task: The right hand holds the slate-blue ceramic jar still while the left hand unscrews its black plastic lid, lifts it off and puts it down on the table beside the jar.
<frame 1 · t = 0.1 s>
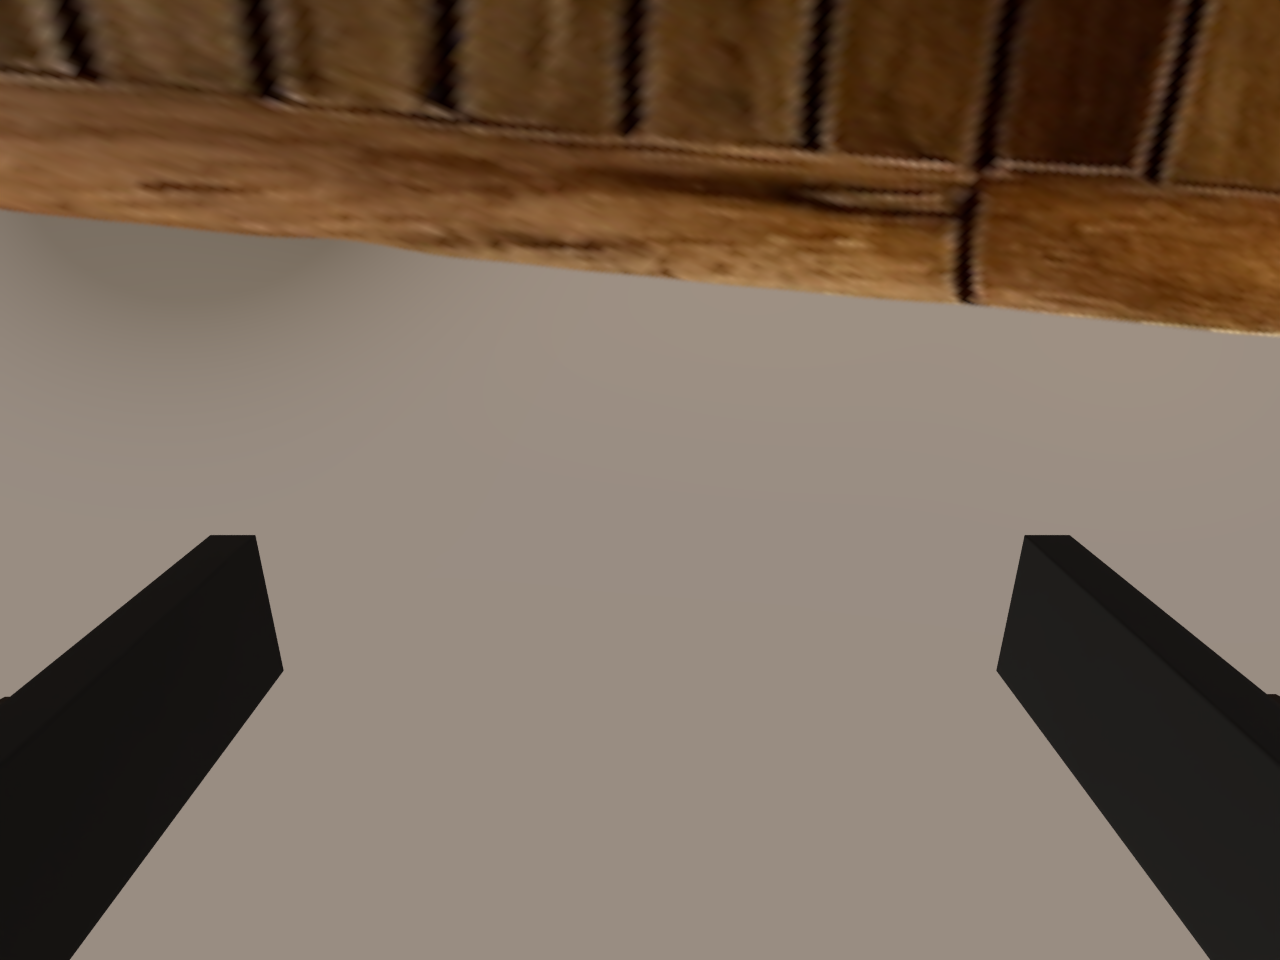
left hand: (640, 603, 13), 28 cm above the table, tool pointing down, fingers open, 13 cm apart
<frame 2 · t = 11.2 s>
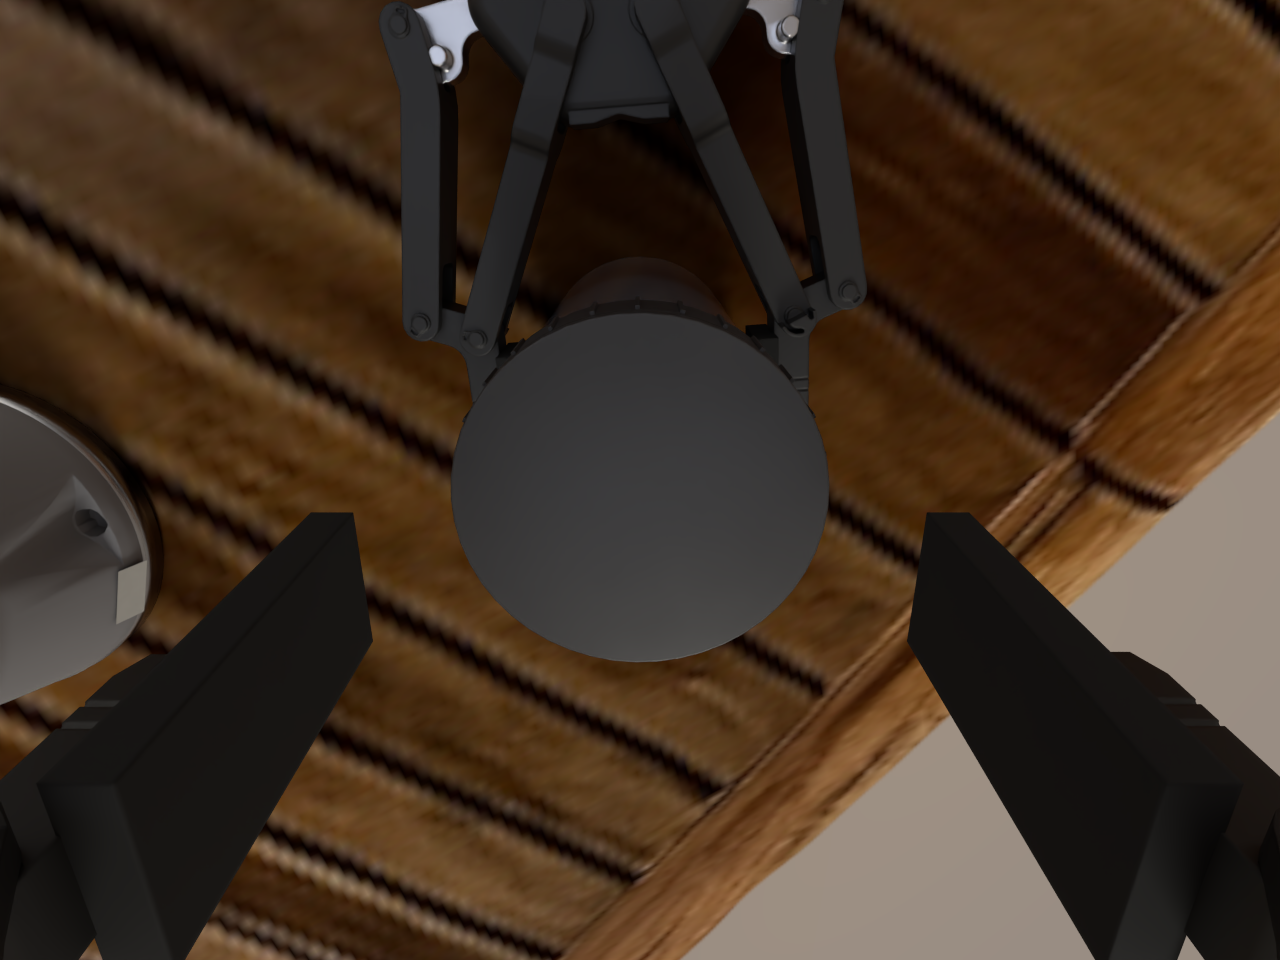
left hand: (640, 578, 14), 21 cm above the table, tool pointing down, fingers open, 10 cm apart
right hand: (649, 508, 29), fingers closed on jar, 8 cm apart
lid: (639, 497, 17), point 17 cm above the table, screwed on, not yet turned
jar: (639, 350, 33), on the table, touching right hand
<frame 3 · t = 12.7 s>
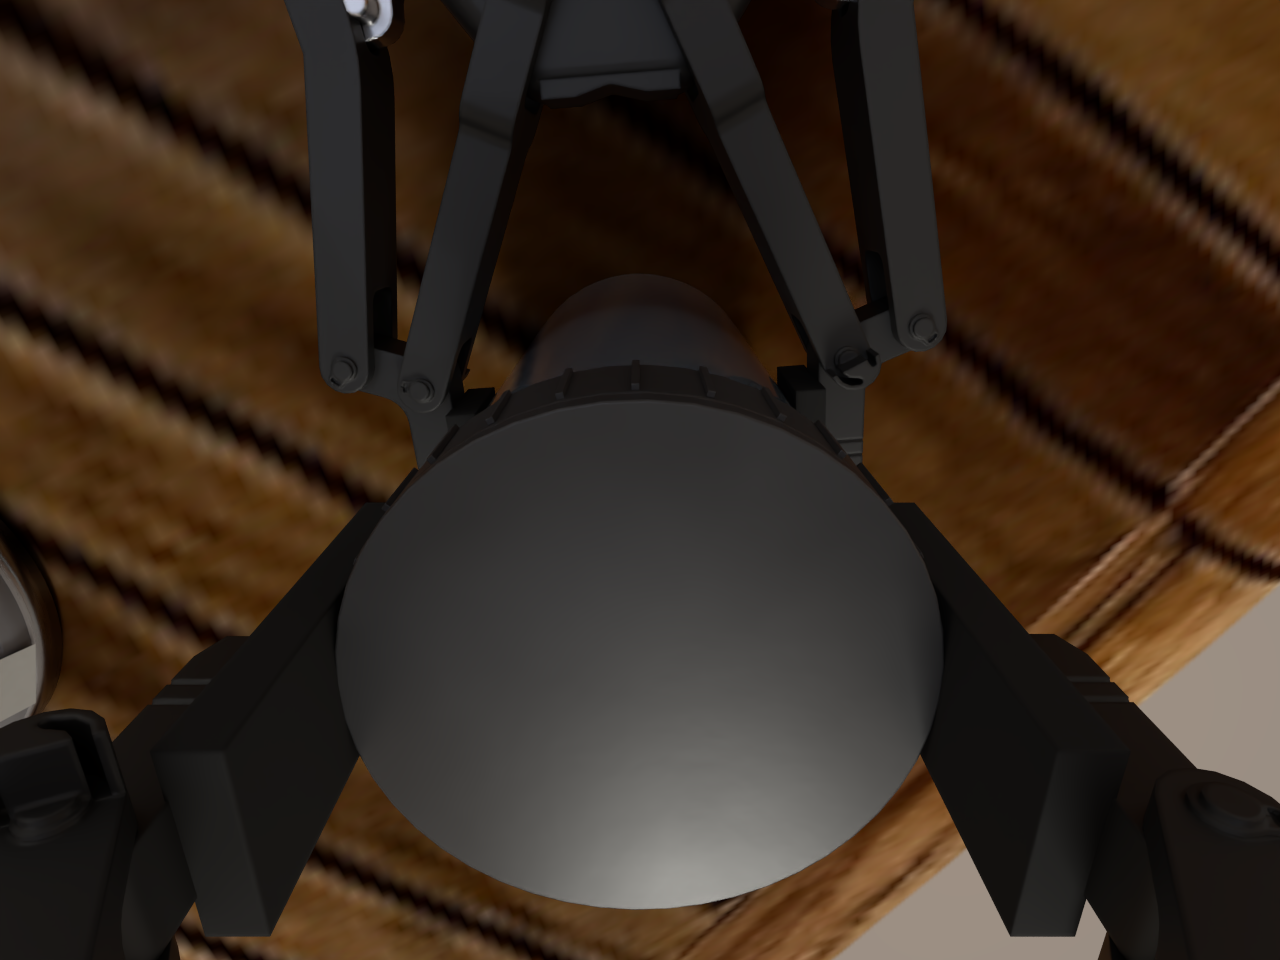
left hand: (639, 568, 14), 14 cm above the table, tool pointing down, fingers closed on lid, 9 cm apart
lid: (639, 678, 11), point 17 cm above the table, screwed on, not yet turned, touching left hand
jar: (639, 389, 27), on the table, touching right hand
when the left hand's fingers open (14 cm above the table, at t = 14.0 s): lid stays where it is, point 17 cm above the table.
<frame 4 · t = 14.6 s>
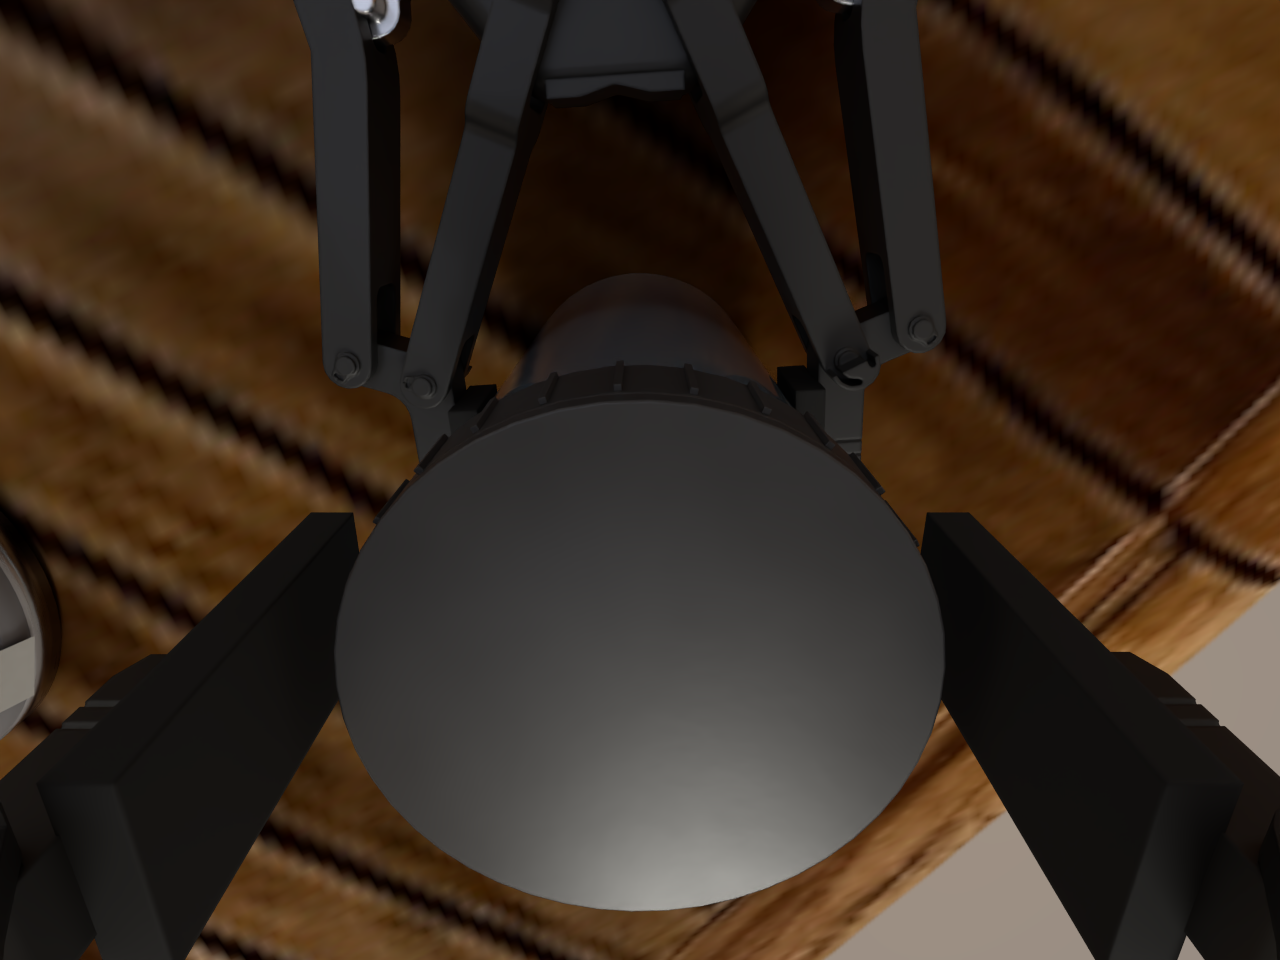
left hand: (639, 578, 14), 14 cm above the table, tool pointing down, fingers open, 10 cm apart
lid: (639, 679, 11), point 17 cm above the table, turned 68° so far, risen 0.2 cm, still on its thread
jar: (639, 388, 27), on the table, touching right hand
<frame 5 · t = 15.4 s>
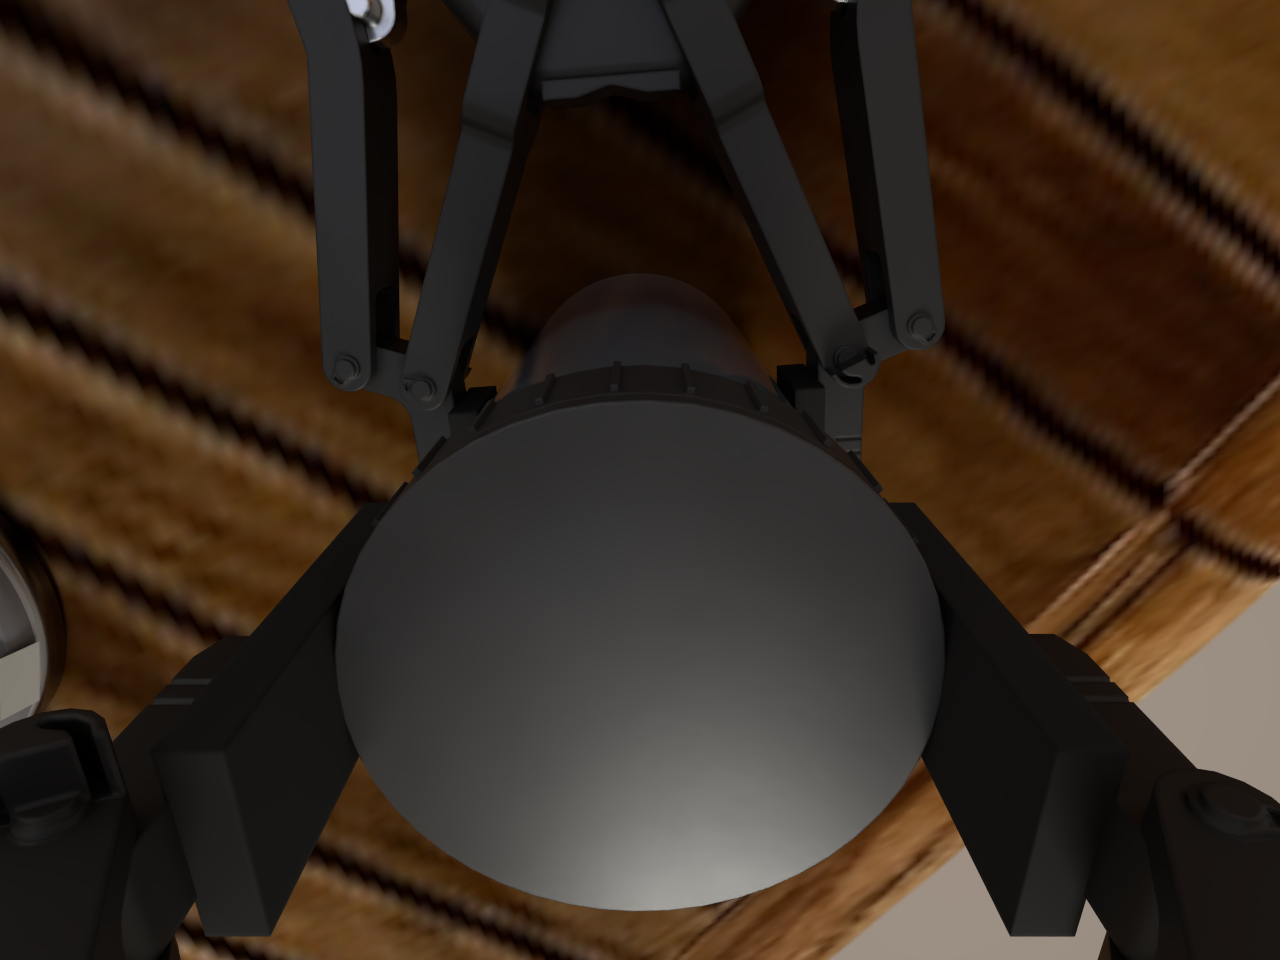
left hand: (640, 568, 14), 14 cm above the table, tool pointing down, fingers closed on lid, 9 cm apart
lid: (640, 679, 11), point 17 cm above the table, turned 68° so far, risen 0.2 cm, still on its thread, touching left hand
jar: (640, 388, 27), on the table, touching right hand
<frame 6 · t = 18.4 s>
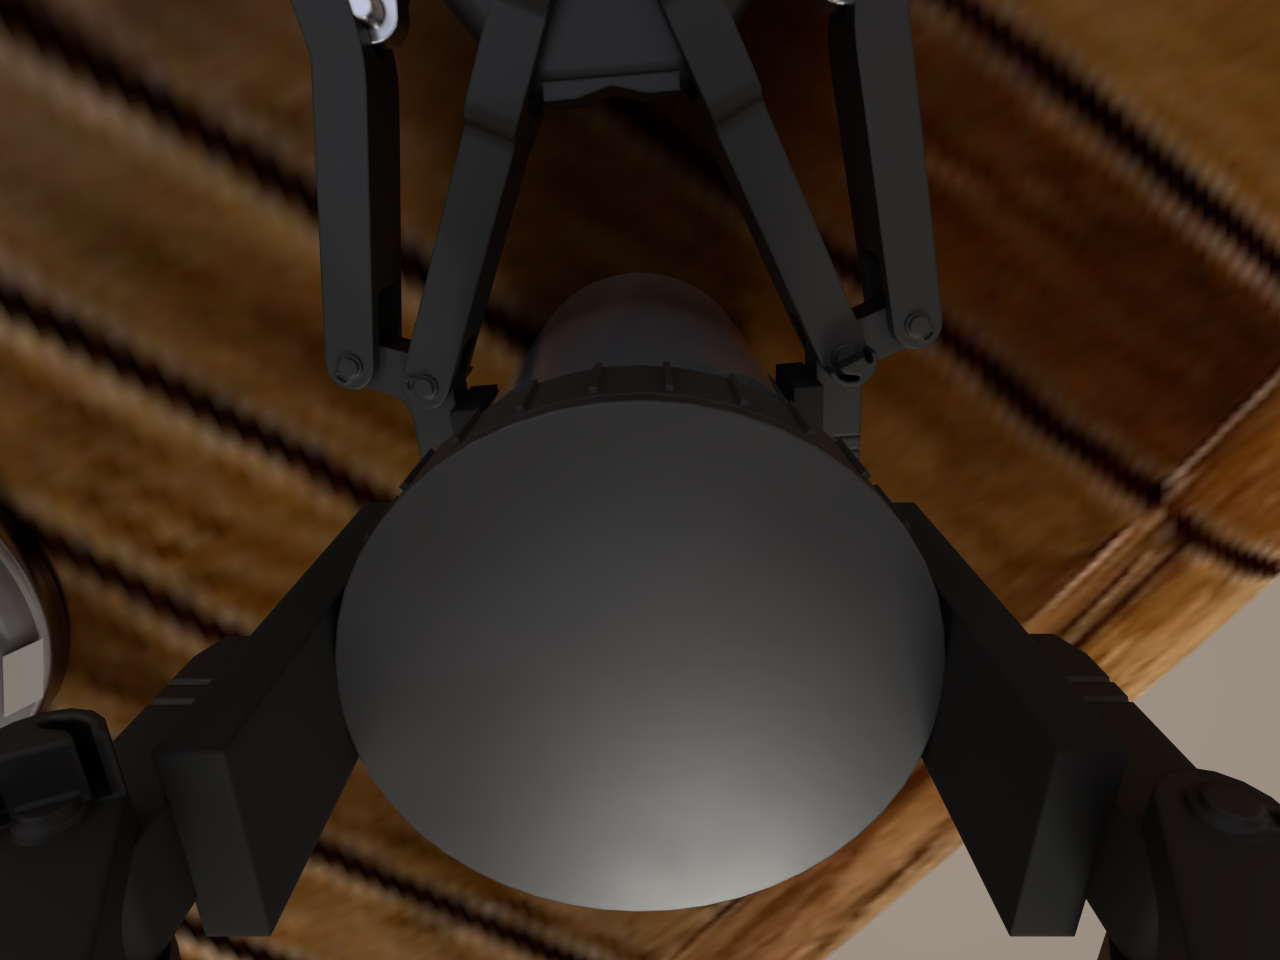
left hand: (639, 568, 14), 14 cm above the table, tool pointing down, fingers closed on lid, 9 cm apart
lid: (640, 679, 11), point 17 cm above the table, turned 136° so far, risen 0.4 cm, still on its thread, touching left hand
jar: (640, 386, 27), on the table, touching right hand
when the left hand's fingers open (0 cm above the table, at t = 25.3 s): lid drops 2 cm, point 2 cm above the table.
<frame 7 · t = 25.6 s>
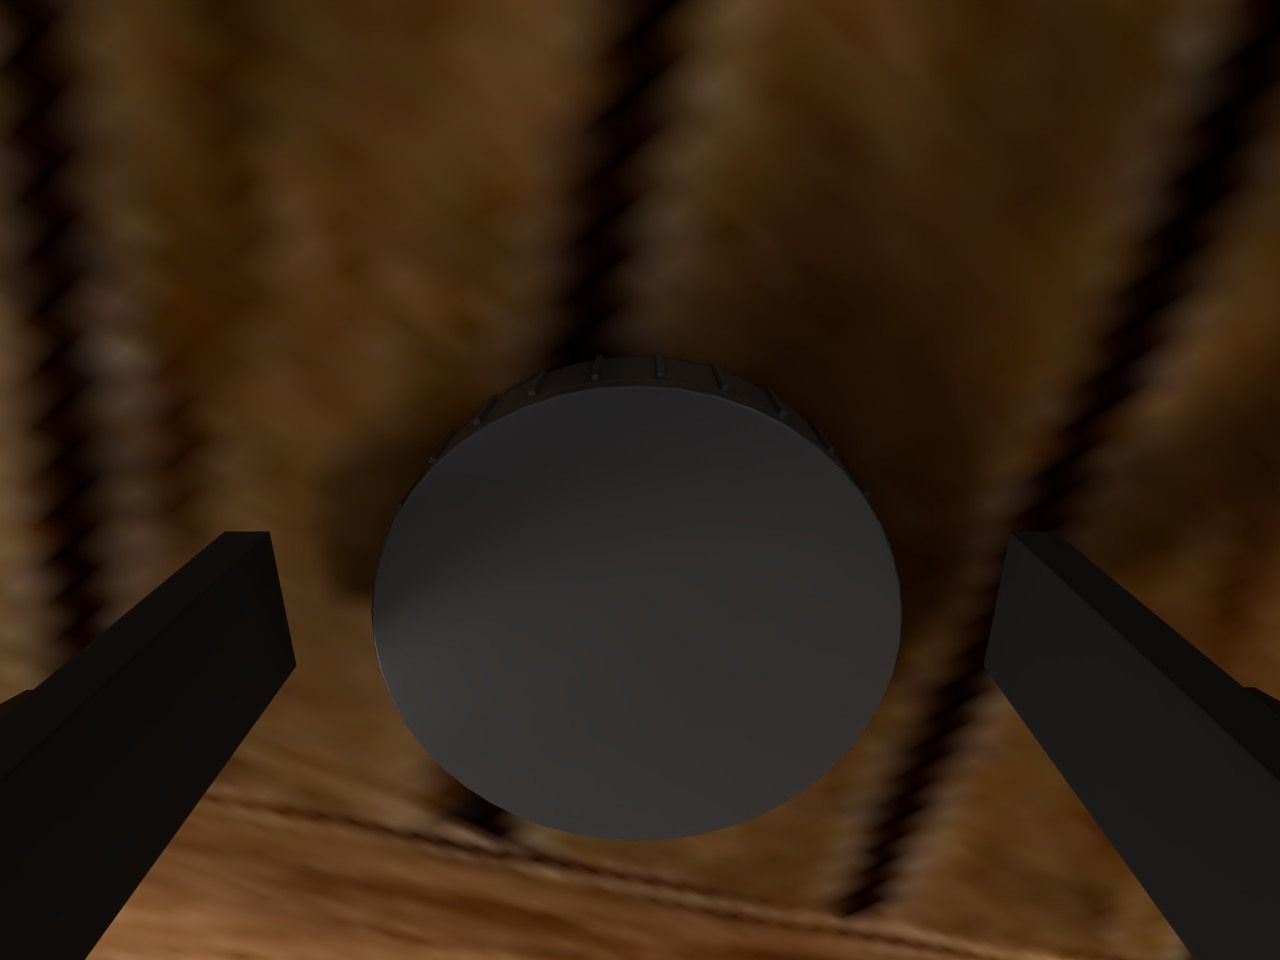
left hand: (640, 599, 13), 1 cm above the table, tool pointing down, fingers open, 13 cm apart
lid: (636, 631, 13), point 2 cm above the table, off its thread
when the right hand's fingers open (7 cm above the table, at t = 26.3 s): jar stays where it is, on the table.
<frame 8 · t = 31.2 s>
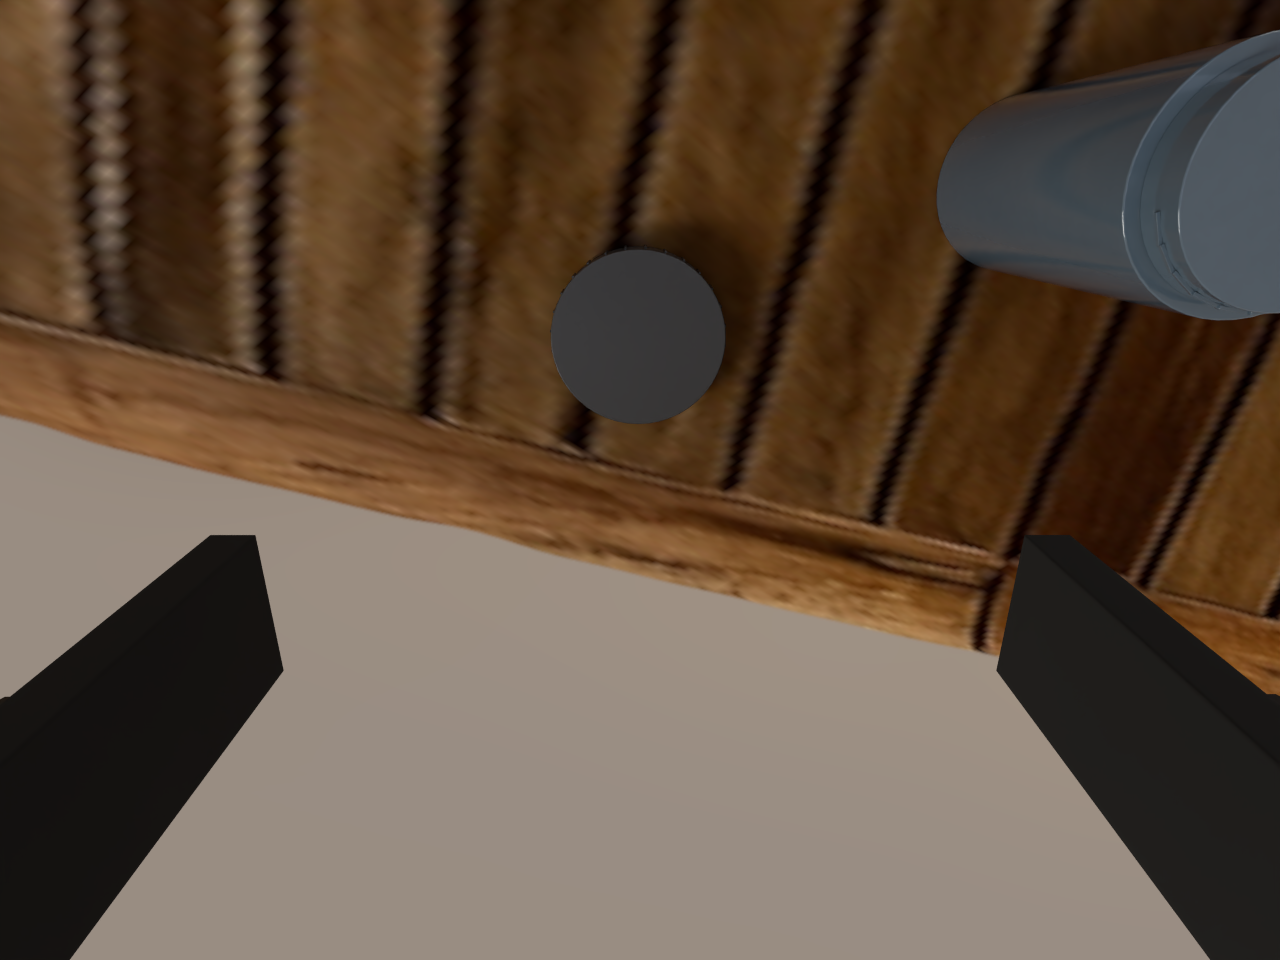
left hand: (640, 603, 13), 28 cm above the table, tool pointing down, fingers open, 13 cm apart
lid: (638, 339, 37), point 2 cm above the table, off its thread
jar: (1020, 185, 36), on the table
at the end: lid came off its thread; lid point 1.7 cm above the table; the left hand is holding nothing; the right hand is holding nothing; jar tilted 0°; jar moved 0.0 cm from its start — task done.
